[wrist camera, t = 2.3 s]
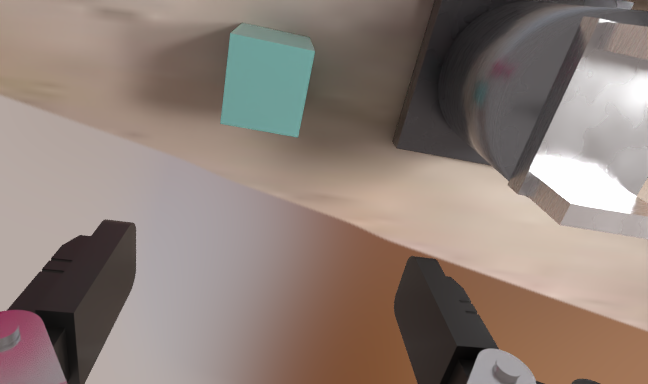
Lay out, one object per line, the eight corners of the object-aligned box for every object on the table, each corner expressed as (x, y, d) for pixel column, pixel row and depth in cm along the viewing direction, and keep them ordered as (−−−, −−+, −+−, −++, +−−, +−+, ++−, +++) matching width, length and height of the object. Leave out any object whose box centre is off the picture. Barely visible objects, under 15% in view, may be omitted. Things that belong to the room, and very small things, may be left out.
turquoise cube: (242, 22, 30) (230, 33, 24) (309, 37, 31) (314, 51, 25) (233, 96, 33) (220, 123, 26) (296, 108, 33) (298, 137, 27)
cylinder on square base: (448, -44, 29) (608, -69, 15) (619, 1, 31) (906, 19, 17) (392, 141, 35) (466, 255, 21) (539, 168, 37) (700, 288, 23)
